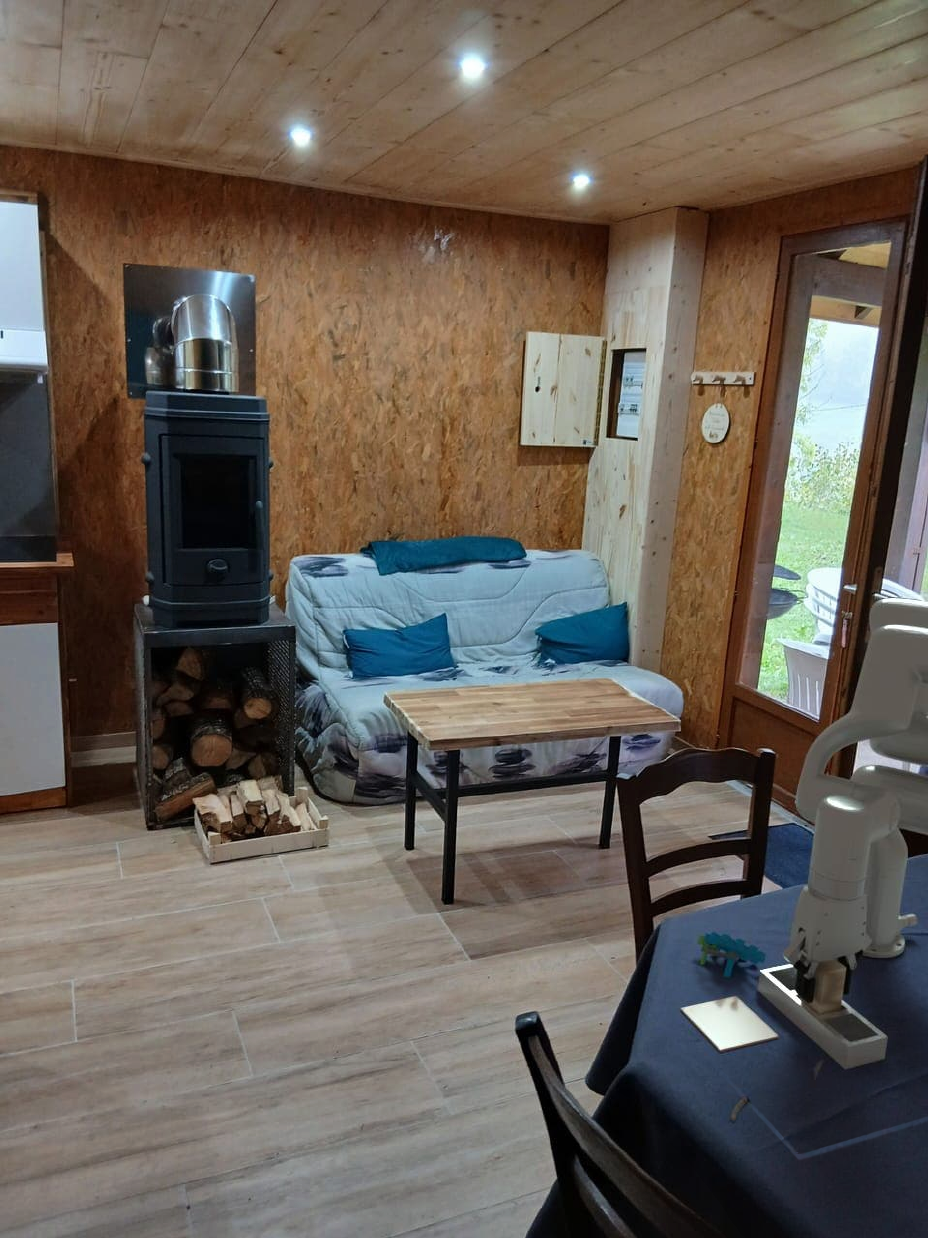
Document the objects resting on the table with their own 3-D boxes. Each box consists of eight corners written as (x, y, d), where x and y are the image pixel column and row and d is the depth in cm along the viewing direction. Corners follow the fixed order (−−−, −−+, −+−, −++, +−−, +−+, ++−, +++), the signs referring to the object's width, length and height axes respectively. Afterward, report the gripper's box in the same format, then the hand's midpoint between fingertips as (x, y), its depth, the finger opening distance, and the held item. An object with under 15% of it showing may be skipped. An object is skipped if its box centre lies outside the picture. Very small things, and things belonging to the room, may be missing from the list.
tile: (735, 1000, 145) (736, 996, 145) (777, 1040, 136) (778, 1036, 136) (680, 1013, 142) (680, 1008, 142) (720, 1055, 133) (720, 1050, 132)
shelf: (793, 985, 150) (796, 963, 149) (884, 1062, 132) (887, 1037, 132) (757, 993, 147) (760, 970, 146) (844, 1072, 130) (848, 1047, 129)
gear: (775, 961, 153) (756, 938, 147) (765, 997, 151) (746, 974, 144) (711, 944, 160) (691, 921, 154) (701, 978, 158) (680, 956, 152)
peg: (819, 1012, 142) (827, 953, 140) (838, 1028, 139) (846, 967, 136) (797, 1017, 141) (805, 957, 139) (816, 1033, 137) (824, 972, 135)
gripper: (864, 862, 141) (849, 969, 145) (770, 878, 135) (757, 989, 139) (902, 885, 134) (886, 997, 138) (805, 903, 128) (791, 1020, 132)
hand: (821, 992), depth 139 cm, fingers open, 5 cm apart
